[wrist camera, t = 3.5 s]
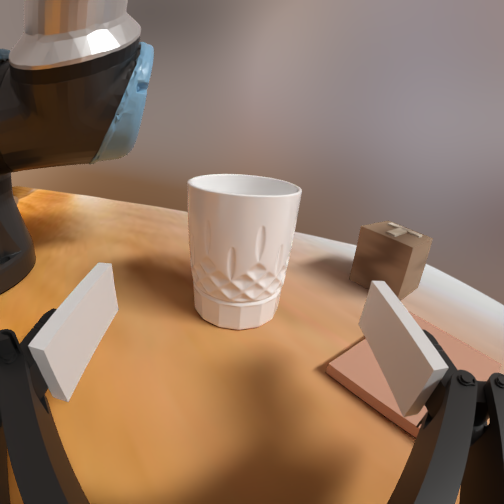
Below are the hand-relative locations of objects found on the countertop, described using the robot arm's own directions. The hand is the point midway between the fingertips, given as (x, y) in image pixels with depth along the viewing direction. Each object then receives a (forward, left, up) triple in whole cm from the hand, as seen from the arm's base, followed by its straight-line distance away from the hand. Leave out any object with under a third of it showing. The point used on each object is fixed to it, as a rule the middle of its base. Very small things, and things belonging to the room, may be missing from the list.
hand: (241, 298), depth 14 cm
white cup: (-7, +5, -6) cm, 10 cm away
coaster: (+8, +11, -6) cm, 15 cm away
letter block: (-2, +21, -6) cm, 22 cm away
